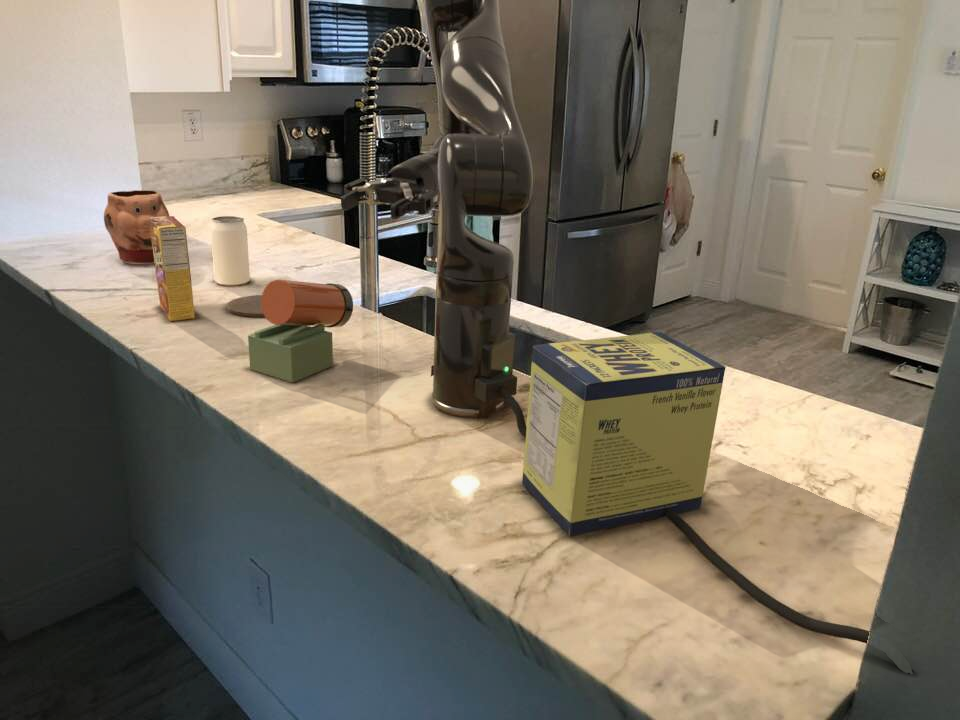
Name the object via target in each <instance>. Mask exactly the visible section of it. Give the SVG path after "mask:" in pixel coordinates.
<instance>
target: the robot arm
mask: <svg viewBox="0 0 960 720" xmlns="http://www.w3.org/2000/svg"><path fill="white" fill-rule="evenodd" d="M423 9H424V18H425V27H426V33H427V39H428V40H427V41H428V46H429V52H430V53H429V54H430V58H431V64H432V68H433V73H434V78H435V85H436V86H435V87H436V95H437V111H438V112H437V113H438V129H439V132H440V133H441V135H440V136H438V137H437V138H436V140H435V141H434V143H433V144H432V146H431V147H430V149H429V150H428V151H427V152H425V153H423V154H419V155H416V156H413V157H411V158H408V159H407V160H404V161H403V162H401V163H398V164H397V165H395V166H393V167H392V168H391V169H390V170H389V171H388V173H387V174H386V175H385V178H382V179H381V180H375V181H370V178H369V177H368V176H363V177H361V178H358V179H355V180H353V181H351V182H348V183H347V184H344V186H343V187H344V194H343V195H341V196H340V206H341V209H342V210H343V211H349V210H351V209H353V208H355V207H356V206H358V205H363V204H367V205H369V206H378V205H387V206H388V205H390V219H392V220H398V219H400V218H402V217H404V216H405V215H413V214H414V213H415V212H417V213H418V215H421V216H422V215H423V216H424V215H426V214H428V213H429V212H430V211H432V210H433V209H434V208H436V207H437V253H436V276H435V307H434V309H435V310H434V311H435V312H434V339H433V340H434V344H433V364H432V365H431V366H430V377H433V378H432V392H431V402H432V404H433V406H434V407H435V408H436V409H438V410H439V411H441V412H444V413H446V414H450V415H453V416H459V417H469V418H472V417H474V418H476V417H477V418H483V419H489V418H491V417H492V416H493V415H495V414H497V413H498V412H500V411H502V410H503V409H505V408H506V407H507V406H509V407H510V408H511V410H512V411H513V413H514V415H515V419H516V426H517V429H518V432H519V433H520V434H521V435H522V437H524V438H525V439H526V430H527V424H526V420H525V415H524V411H523V410H522V408H521V406H520V404H519V403H518V402H517V400H516V399H515V398H514V396H516V395H517V391H518V376H516V375H515V374H514V362H515V361H514V360H515V344H516V335H515V333H514V332H510V320H511V307H512V292H513V291H512V290H513V277H514V262H515V261H514V254H513V252H512V250H511V249H510V248H508V247H507V246H505V245H503V244H501V243H498V242H496V241H492V240H490V239H487V238H485V237H484V236H482V235H479V234H478V233H476V232H475V231H473V230H472V229H470V228H469V226H468V225H467V224H466V218H467V217H492V218H493V217H494V218H495V217H498V218H499V217H501V218H503V217H514V216H518V215H521V214H523V212H524V211H525V210H527V209H528V207H529V205H530V202H531V199H532V197H533V192H534V191H533V190H534V170H533V169H534V168H533V162H532V161H533V160H532V155H531V151H530V148H529V144H528V141H527V138H526V135H525V132H524V129H523V125H522V123H521V120H520V116H519V113H518V110H517V107H516V101H515V95H514V88H513V80H512V79H513V78H512V73H511V67H510V62H509V57H508V54H507V50H506V47H505V41H504V37H503V33H502V25H501V15H500V1H499V0H423ZM448 33H449V34H450V33H454V34H453V35H452V37H451V38H450V39H449V38H448ZM374 194H375V197H376V198H375V199H374ZM364 196H365V197H364ZM664 515H665V516H664V517H666V518H667V520H669V521H670V522H671V523H672V524H673V525H674V526H675V527H676V528H677V529H678V530H679V531H680V532H681V533H682V534H683V535H684V536H685V537H686V538H687V540H688V541H690V543H691V544H692V545H693V546H694V547H695V548H696V549H697V550H698V551H699V553H700V554H702V556H703V557H704V558H706V560H707V561H709V563H711V564H712V565H713V566H714V567H715V568H716V569H717V570H718V571H719V572H721V573H722V574H723V575H725V577H727V578H728V579H729V580H730V581H731V582H733V583H734V584H735V585H736V586H737V587H739V588H740V589H741V590H742V591H744V592H745V593H746V594H747V595H749V596H750V597H751V598H752V599H754V600H755V601H757V602H758V603H759V604H761V605H762V606H764V607H765V608H767V609H768V610H770V611H771V612H773V613H775V614H776V615H777V616H780V617H781V618H783V619H784V620H786V621H788V622H790V623H792V624H794V625H795V626H797V627H800V628H802V629H804V630H807V631H811V632H813V633H817V634H820V635H824V636H825V635H826V636H829V637H834V638H839V639H840V638H841V639H846V640H851V641H855V642H858V643H859V642H860V643H863V644H866V643H867V640H868V636H869V632H871V631H870V630H868V629H864V628H860V627H856V626H851V625H845V624H839V623H834V622H829V621H824V620H820V619H817V618H814V617H811V616H807V615H805V614H803V613H800V612H798V611H797V610H795V609H793V608H791V607H790V606H788V605H786V604H785V603H783V602H781V601H779V600H777V599H776V598H774V597H773V596H771V595H770V594H769V593H766V592H765V591H764V590H763V589H761V588H760V587H758V586H757V585H756V584H754V583H753V582H752V581H751V580H750V579H748V578H747V577H746V576H744V575H743V574H742V573H741V572H739V571H738V570H737V569H736V568H735V567H733V566H732V565H731V564H730V563H728V561H726V560H725V559H724V558H722V556H720V555H719V554H718V553H717V552H716V551H715V550H714V549H712V547H711V546H710V545H709V544H708V543H707V542H706V541H705V540H704V539H703V538H702V537H701V536H700V535H699V534H698V533H697V532H696V531H695V530H694V529H693V528H692V526H690V524H689V523H687V522H686V521H685V520H684V518H682V517H681V516H680V515H679V514H677V513H676V512H675V511H674V510H673V509H672V508H671V507H668V508H666V509H665V510H664Z"/></svg>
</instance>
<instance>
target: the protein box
mask: <svg viewBox="0 0 960 720" xmlns="http://www.w3.org/2000/svg"><path fill="white" fill-rule="evenodd" d="M531 356H532V357H531V369H530V379H529V393H528V401H527V402H528V403H527V404H528V405H527V416H526V427H527V430H526V438H525V441H524V443H525V445H524V455H523V467H522V479H521V484H522V486H523V487H524V488H525V489H526V490H527V491H528V492H529V493H530V495H531V496H532V497H533V498H534V499H535V500H536V501H537V502H538V504H539V505H540V506H541V507H542V508H543V509H544V510H545V511H546V512H547V514H548V515H549V516H551V518H552V519H553V520H554V522H556V523H557V524H558V525H559V527H561V529H562V530H563V531H564V532H565V533H566V534H567V536H568V537H572V536H577V535H582V534H587V533H591V532H596V531H603V530H606V529H611V528H616V527H621V526H624V525H629V524H634V523H640V522H644V521H650V520H655V519H660V518H664V517H666V516H665V515H664V510H665V509H666V508H668V507H671V508H672V509H673V510H674V511H675V512H676V513H677V514H678V515H679V514H683V513H688V512H692V511H698V510H700V509H701V508H702V501H703V496H704V492H705V491H704V490H705V484H706V479H707V473H708V467H709V461H710V456H711V451H712V445H713V439H714V433H715V430H716V429H715V428H716V424H717V417H718V413H719V406H720V400H721V394H722V390H723V383H724V377H725V373H726V372H725V371H726V366H725V365H723V364H722V363H719V362H717V361H716V360H715V359H712V358H710V357H708V356H706V355H705V354H702V353H701V352H699V351H697V350H695V349H693V348H691V347H689V346H688V345H685V344H684V343H682V342H680V341H678V340H676V339H674V338H672V337H671V336H668V335H667V334H665V333H663V332H662V331H655V332H654V331H653V332H646V333H639V334H630V335H621V336H612V337H601V338H594V339H593V338H592V339H584V340H582V339H581V340H571V341H562V342H551V343H543V344H537V345H533V346H532V355H531Z"/></svg>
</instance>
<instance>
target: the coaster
mask: <svg viewBox="0 0 960 720" xmlns="http://www.w3.org/2000/svg"><path fill="white" fill-rule="evenodd" d="M261 298H262V294H256V295H249V296H248V295H247V296H242V297H241V296H240V297H237V298H234V299H232V300H230V301H228V302H227V304H226V309H227V311H228V313H229V312H230V313H231V314H233V315H237V316H242V317H249V318H266V317H265V316H264V314H263V311H262V307H261Z"/></svg>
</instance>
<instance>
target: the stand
mask: <svg viewBox="0 0 960 720" xmlns="http://www.w3.org/2000/svg"><path fill="white" fill-rule="evenodd" d="M325 329H326V327H325V325H323V324H319V325H316V326H304V325H275V324H273V325H270V326H268V327H265V328H261V329H258V330H257V331H256V330H255V331H254V333H249V334H248V335H247V341H248V358H249V369H250V370H251V371H254V372H258V373H261V374H264V375H267V376H270V377H274V378H276V379H279V380H282V381H285V382H289V383H296V382H298V381H300V380H303V379H305V378H307V377H310V376H312V375H314V374H317V373H319V372H322V371H324V370H326V369H329V368H331V367H333V366H334V354H333V350H334V349H333V348H334V347H333V346H334V345H333V332H331V331H328V330H325Z"/></svg>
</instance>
